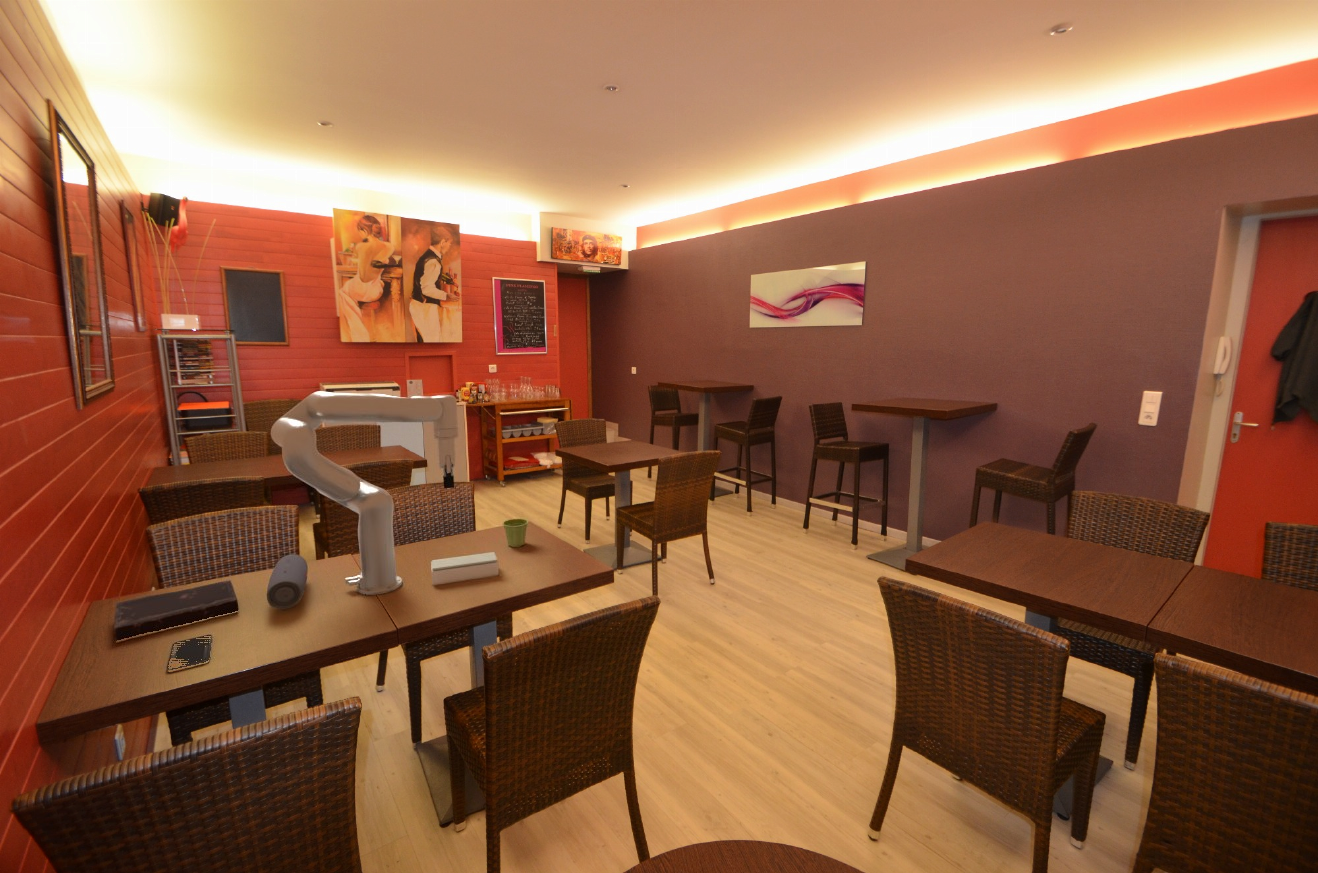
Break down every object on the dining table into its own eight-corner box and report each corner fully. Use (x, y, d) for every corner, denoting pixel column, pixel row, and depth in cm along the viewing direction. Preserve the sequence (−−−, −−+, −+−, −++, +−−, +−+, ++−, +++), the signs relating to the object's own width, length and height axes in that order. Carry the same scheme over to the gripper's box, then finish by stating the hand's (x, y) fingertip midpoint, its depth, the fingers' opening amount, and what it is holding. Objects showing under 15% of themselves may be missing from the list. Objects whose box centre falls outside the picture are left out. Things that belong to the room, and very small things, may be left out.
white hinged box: (432, 585, 177) (431, 571, 176) (431, 575, 184) (431, 562, 184) (498, 575, 185) (498, 562, 184) (495, 566, 192) (494, 553, 191)
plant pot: (502, 541, 216) (502, 519, 215) (528, 539, 219) (527, 517, 218) (503, 550, 208) (502, 527, 206) (530, 547, 210) (529, 525, 209)
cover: (432, 570, 177) (432, 568, 176) (431, 562, 184) (431, 560, 184) (497, 561, 184) (497, 559, 184) (494, 553, 191) (494, 552, 191)
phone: (165, 671, 129) (173, 642, 142) (166, 675, 130) (173, 646, 142) (209, 660, 134) (213, 633, 146) (210, 664, 134) (213, 637, 146)
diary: (239, 615, 159) (237, 599, 158) (116, 647, 142) (113, 628, 141) (231, 592, 172) (229, 577, 171) (118, 618, 156) (115, 601, 155)
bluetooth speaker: (306, 609, 161) (302, 576, 159) (266, 617, 156) (262, 582, 155) (311, 580, 181) (308, 550, 179) (276, 585, 176) (272, 555, 175)
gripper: (433, 430, 191) (436, 483, 194) (434, 437, 178) (437, 494, 181) (456, 429, 194) (459, 481, 197) (459, 435, 181) (462, 491, 184)
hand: (449, 487), depth 189 cm, fingers closed
